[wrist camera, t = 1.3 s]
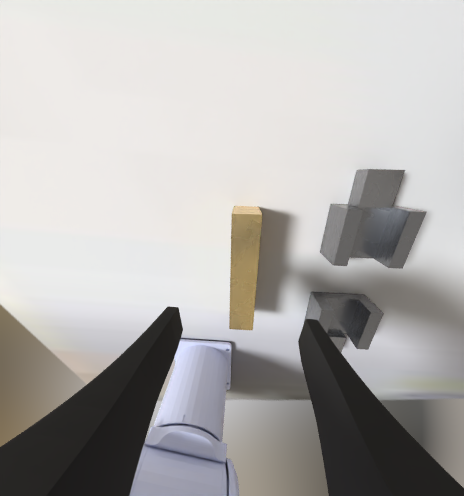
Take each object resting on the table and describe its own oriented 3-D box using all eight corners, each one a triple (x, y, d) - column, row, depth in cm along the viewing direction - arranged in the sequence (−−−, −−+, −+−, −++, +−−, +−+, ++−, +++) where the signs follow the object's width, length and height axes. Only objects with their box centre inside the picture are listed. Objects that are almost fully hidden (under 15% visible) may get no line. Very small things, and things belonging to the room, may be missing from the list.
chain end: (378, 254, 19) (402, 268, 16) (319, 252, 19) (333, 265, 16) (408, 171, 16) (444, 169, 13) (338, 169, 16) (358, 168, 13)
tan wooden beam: (250, 304, 22) (252, 330, 19) (231, 303, 22) (229, 328, 19) (258, 206, 18) (262, 214, 14) (234, 205, 18) (231, 213, 14)
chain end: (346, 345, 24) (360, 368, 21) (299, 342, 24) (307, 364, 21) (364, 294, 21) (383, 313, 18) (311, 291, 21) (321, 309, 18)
